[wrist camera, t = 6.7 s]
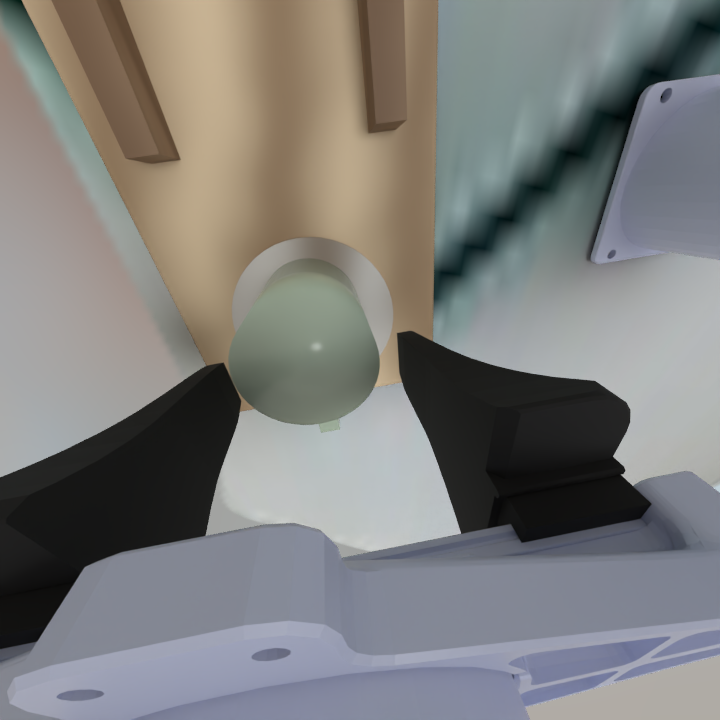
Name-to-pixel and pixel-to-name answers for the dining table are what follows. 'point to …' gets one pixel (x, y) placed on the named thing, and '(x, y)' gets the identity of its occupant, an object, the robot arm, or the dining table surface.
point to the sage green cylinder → (305, 347)
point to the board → (265, 146)
